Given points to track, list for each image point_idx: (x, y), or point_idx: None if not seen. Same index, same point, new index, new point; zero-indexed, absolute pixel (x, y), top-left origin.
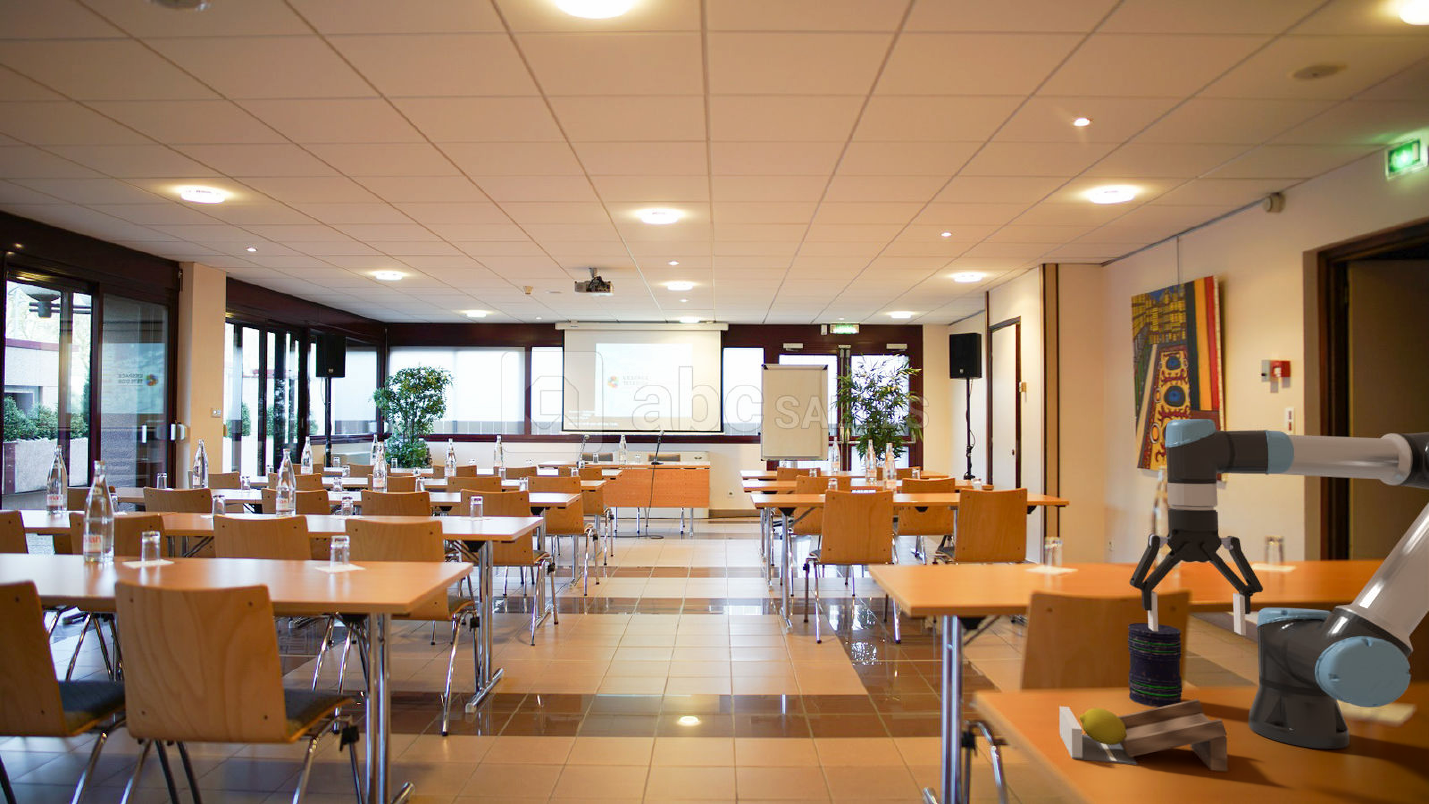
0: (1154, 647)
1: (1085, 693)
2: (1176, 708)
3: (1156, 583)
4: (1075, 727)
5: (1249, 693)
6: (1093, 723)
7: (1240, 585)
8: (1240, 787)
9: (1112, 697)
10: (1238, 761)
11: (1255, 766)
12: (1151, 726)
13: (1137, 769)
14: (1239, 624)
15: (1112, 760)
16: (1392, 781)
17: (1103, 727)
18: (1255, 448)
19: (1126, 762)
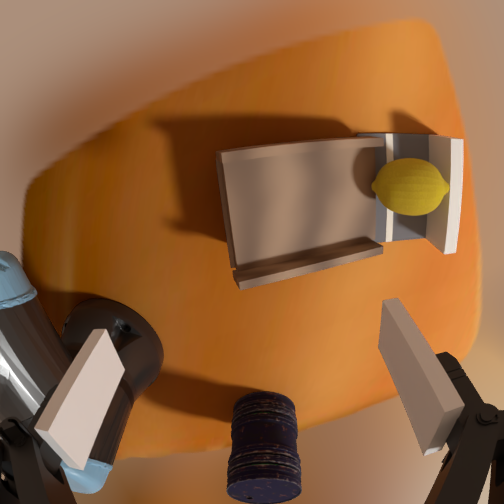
0: (271, 459)
1: (346, 407)
2: (280, 269)
3: (462, 457)
4: (458, 146)
5: (157, 444)
6: (433, 165)
7: (27, 469)
8: (218, 92)
9: (316, 405)
10: (196, 209)
11: (176, 196)
12: (324, 234)
13: (359, 115)
14: (96, 358)
15: (391, 134)
16: (39, 212)
17: (418, 160)
18: None
19: (372, 133)
